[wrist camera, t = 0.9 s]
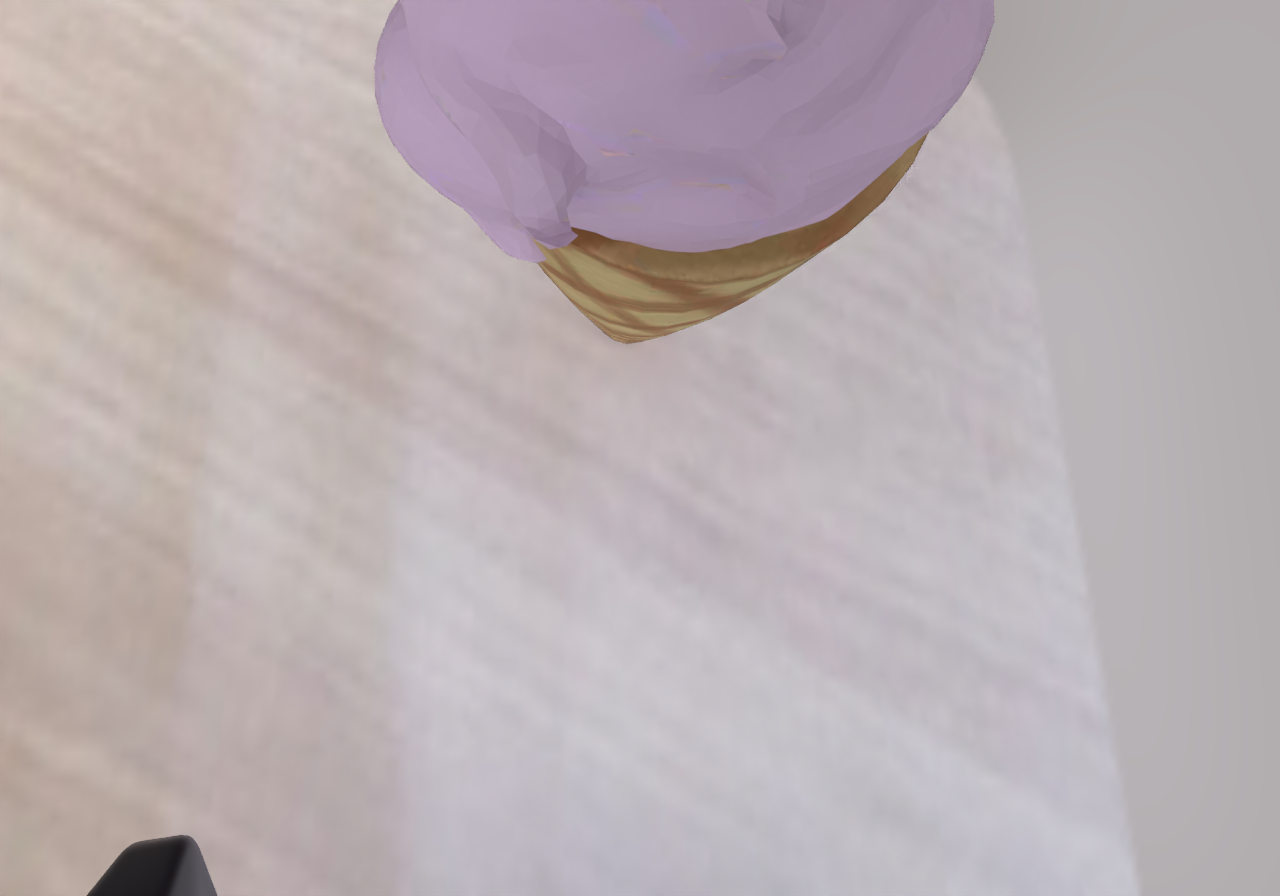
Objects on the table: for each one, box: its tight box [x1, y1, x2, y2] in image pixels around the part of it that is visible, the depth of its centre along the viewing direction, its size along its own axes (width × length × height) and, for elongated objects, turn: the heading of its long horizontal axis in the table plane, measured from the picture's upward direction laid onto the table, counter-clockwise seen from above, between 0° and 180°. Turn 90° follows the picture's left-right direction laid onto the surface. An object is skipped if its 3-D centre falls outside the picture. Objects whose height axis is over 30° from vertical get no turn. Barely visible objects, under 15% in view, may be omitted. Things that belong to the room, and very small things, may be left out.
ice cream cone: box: [375, 0, 994, 344], centre depth 15 cm, size 7×6×15 cm
